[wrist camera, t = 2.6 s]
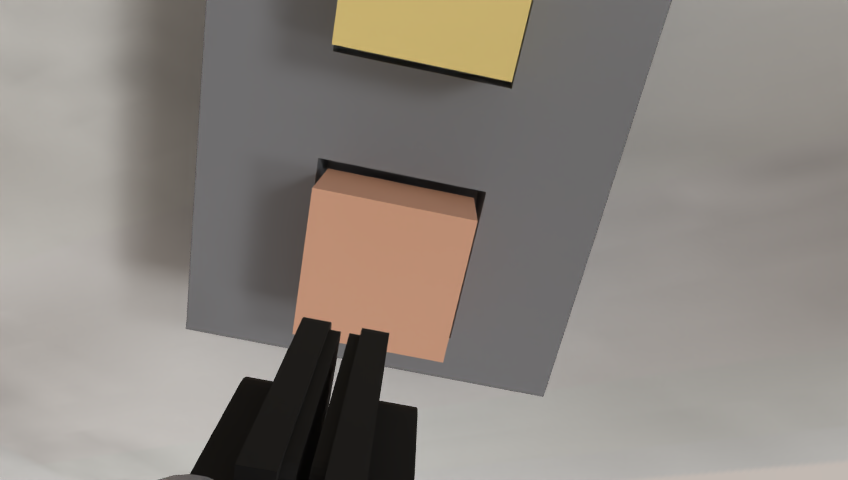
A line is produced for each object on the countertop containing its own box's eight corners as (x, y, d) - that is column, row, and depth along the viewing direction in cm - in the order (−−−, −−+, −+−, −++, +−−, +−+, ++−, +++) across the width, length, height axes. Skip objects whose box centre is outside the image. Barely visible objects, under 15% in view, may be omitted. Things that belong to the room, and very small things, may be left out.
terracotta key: (473, 197, 17) (477, 221, 15) (443, 326, 19) (443, 362, 17) (328, 168, 17) (311, 187, 15) (309, 299, 19) (292, 333, 17)
